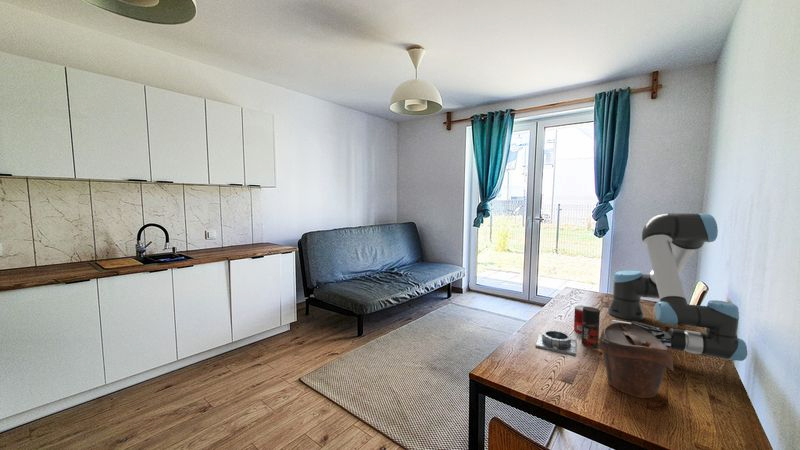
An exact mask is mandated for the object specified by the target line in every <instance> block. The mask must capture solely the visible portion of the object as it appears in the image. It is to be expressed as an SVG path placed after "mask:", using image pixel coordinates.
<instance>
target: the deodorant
mask: <svg viewBox="0 0 800 450" xmlns="http://www.w3.org/2000/svg"><path fill="white" fill-rule="evenodd" d="M600 314H601V310H600V309H599V308H596V307H593V306H592V307H591V306H588V307H583V319H582V334H581V345H582V346H584V347H587V348H591V349H597V348H599V342H600V341H599V339H600V318H601V317H600Z"/></svg>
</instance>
